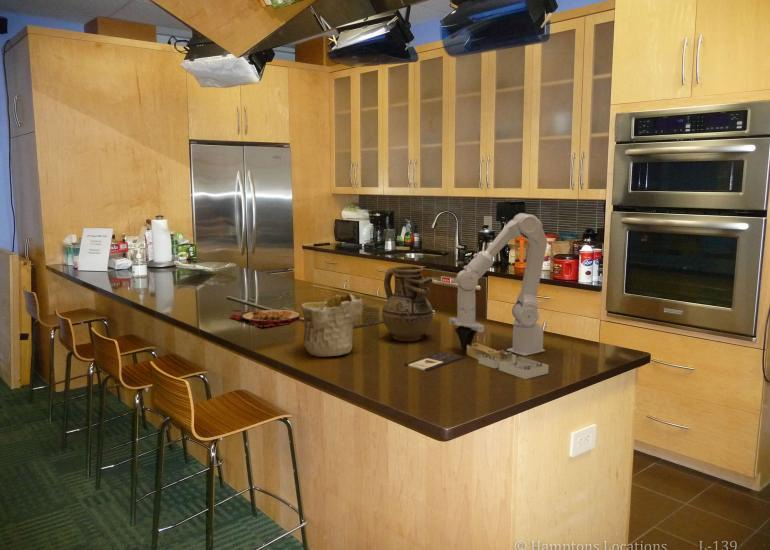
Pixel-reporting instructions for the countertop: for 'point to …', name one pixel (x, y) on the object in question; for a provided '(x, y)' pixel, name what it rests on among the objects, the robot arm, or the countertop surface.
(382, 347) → the countertop surface
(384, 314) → the decorative pitcher
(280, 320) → the plate with food
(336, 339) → the ceramic vessel
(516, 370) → the chain end
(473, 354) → the riveted link plate
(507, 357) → the chain end
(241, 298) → the countertop surface
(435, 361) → the chocolate bar
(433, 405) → the countertop surface
